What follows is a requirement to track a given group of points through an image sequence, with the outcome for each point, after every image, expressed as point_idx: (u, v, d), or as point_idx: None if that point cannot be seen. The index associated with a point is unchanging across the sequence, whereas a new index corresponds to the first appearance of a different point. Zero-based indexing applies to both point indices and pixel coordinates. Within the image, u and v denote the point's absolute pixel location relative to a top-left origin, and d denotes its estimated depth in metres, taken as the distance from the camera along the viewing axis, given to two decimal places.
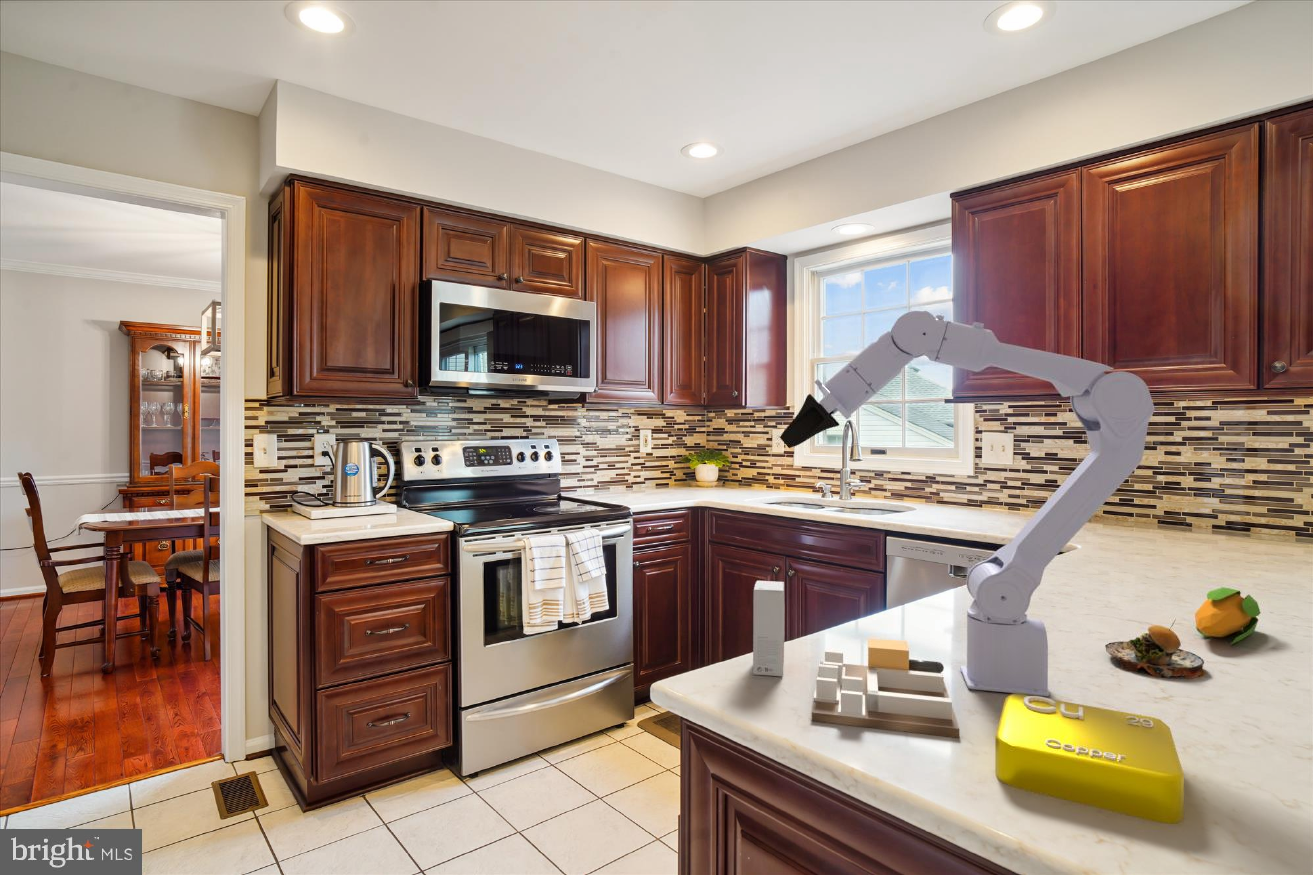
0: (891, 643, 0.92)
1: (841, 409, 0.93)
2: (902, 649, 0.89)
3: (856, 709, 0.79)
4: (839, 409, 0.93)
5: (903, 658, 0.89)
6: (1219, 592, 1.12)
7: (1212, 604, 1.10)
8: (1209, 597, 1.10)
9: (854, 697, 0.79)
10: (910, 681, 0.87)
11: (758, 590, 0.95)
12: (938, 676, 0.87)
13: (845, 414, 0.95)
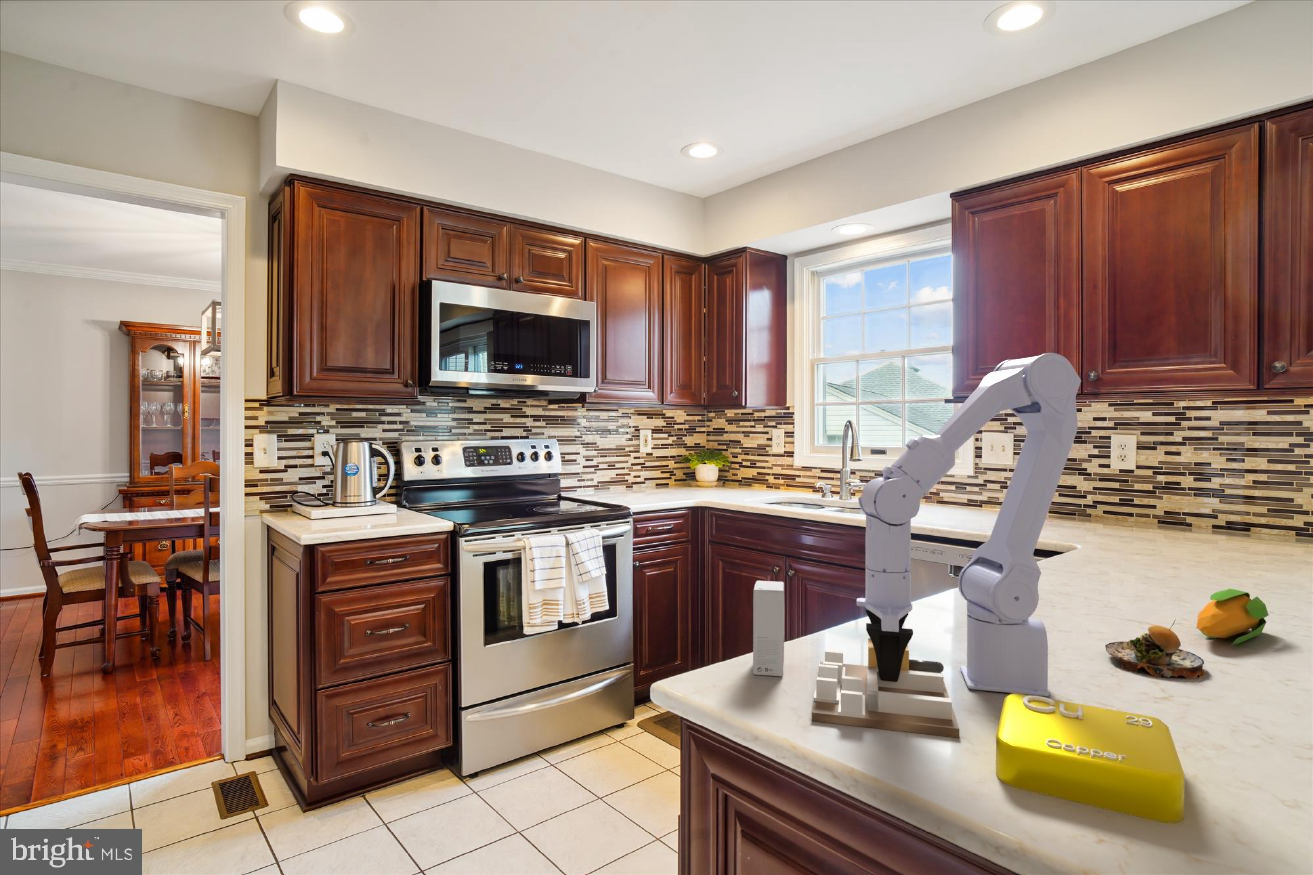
0: None
1: (902, 614, 0.87)
2: None
3: (856, 709, 0.79)
4: (901, 616, 0.86)
5: (903, 658, 0.89)
6: (1224, 593, 1.11)
7: (1215, 605, 1.09)
8: (1212, 598, 1.10)
9: (854, 697, 0.79)
10: (910, 681, 0.87)
11: (758, 590, 0.95)
12: (938, 676, 0.87)
13: (908, 610, 0.88)
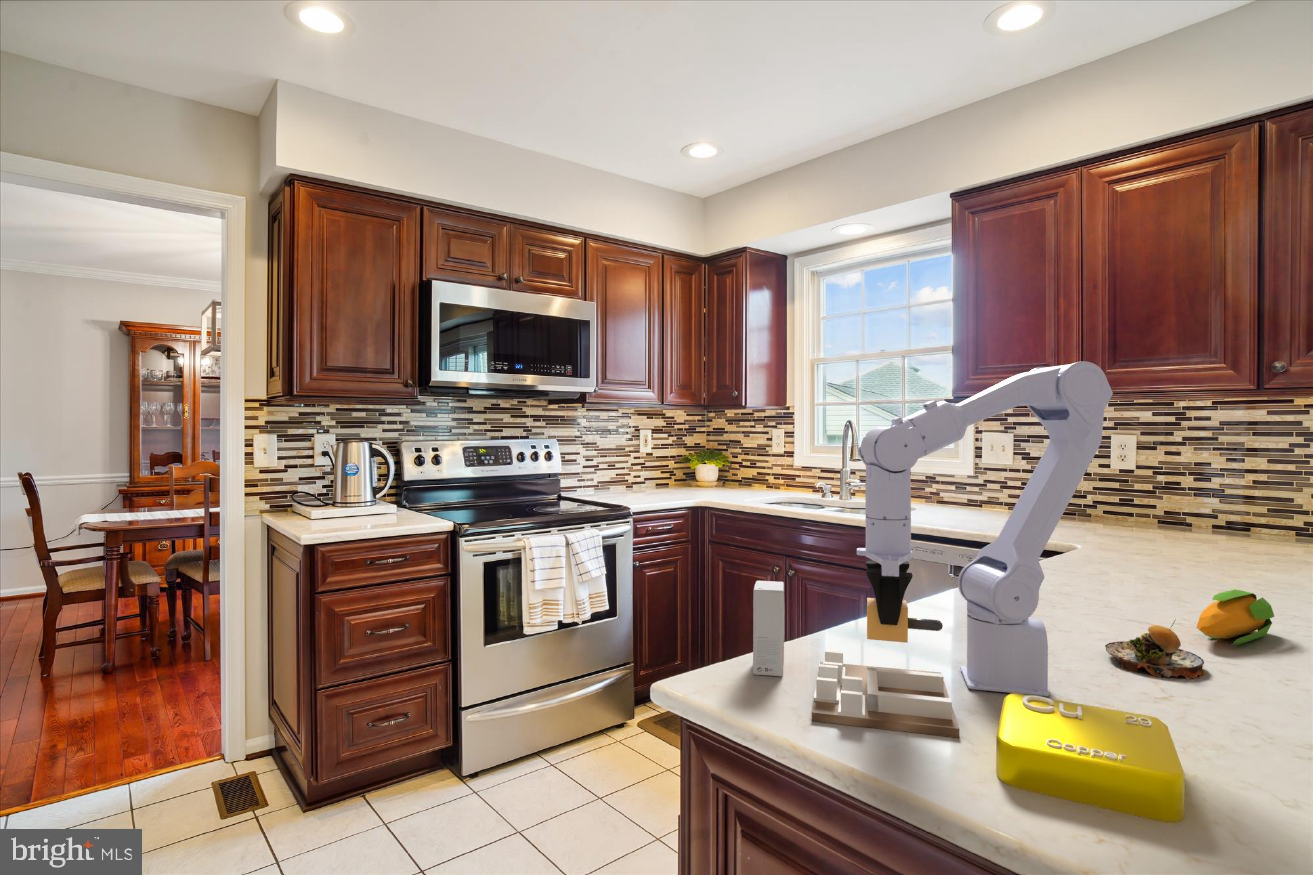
0: None
1: (902, 560, 0.86)
2: (901, 607, 0.89)
3: (856, 709, 0.79)
4: (901, 562, 0.86)
5: (902, 616, 0.89)
6: (1227, 594, 1.11)
7: (1217, 605, 1.09)
8: (1214, 598, 1.09)
9: (854, 697, 0.79)
10: (910, 681, 0.87)
11: (758, 590, 0.95)
12: (938, 676, 0.87)
13: (908, 557, 0.88)
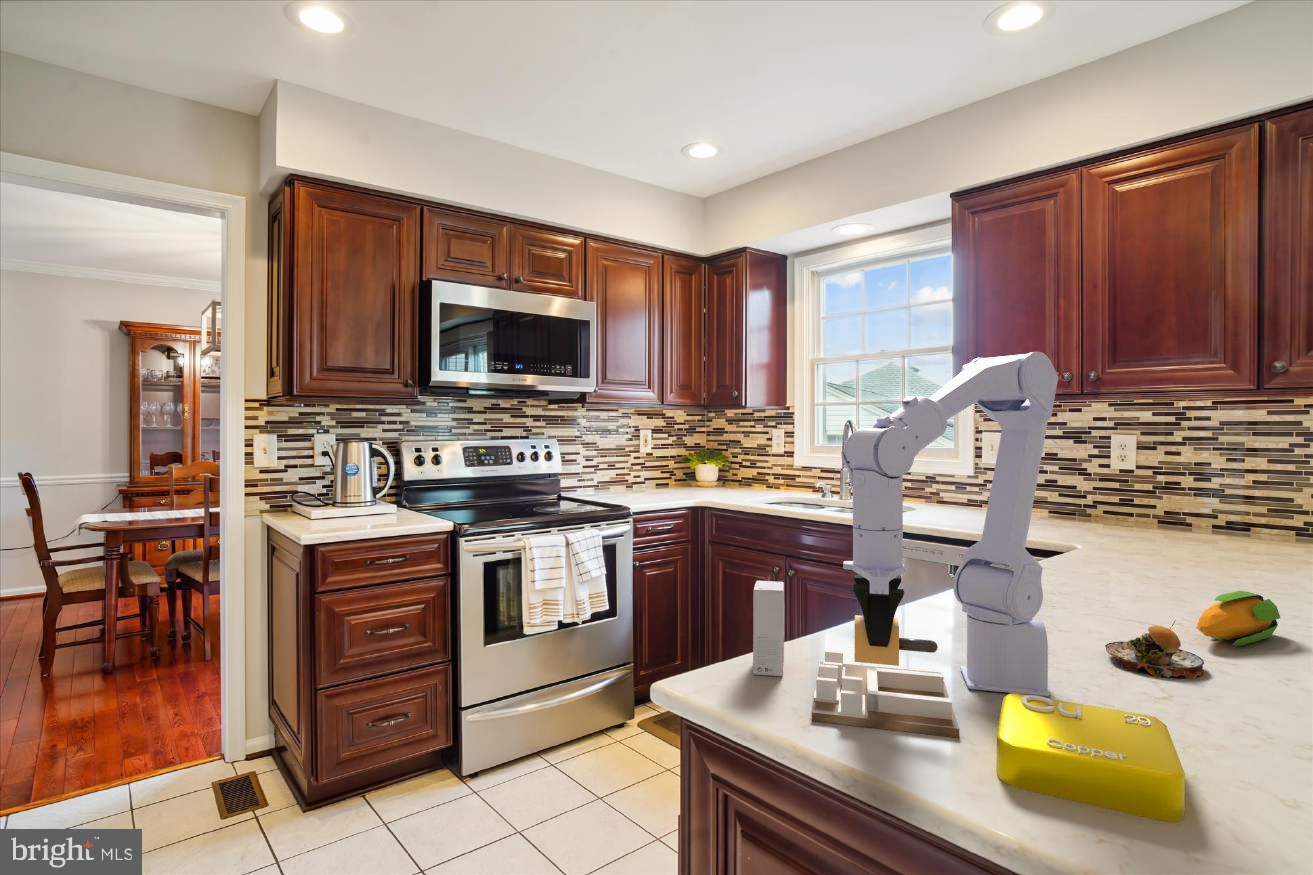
0: None
1: (893, 575, 0.78)
2: None
3: (856, 709, 0.79)
4: (892, 578, 0.78)
5: (893, 636, 0.81)
6: (1230, 594, 1.10)
7: (1219, 606, 1.09)
8: (1216, 599, 1.09)
9: (854, 697, 0.79)
10: (910, 681, 0.87)
11: (758, 590, 0.95)
12: (938, 676, 0.87)
13: (899, 572, 0.80)
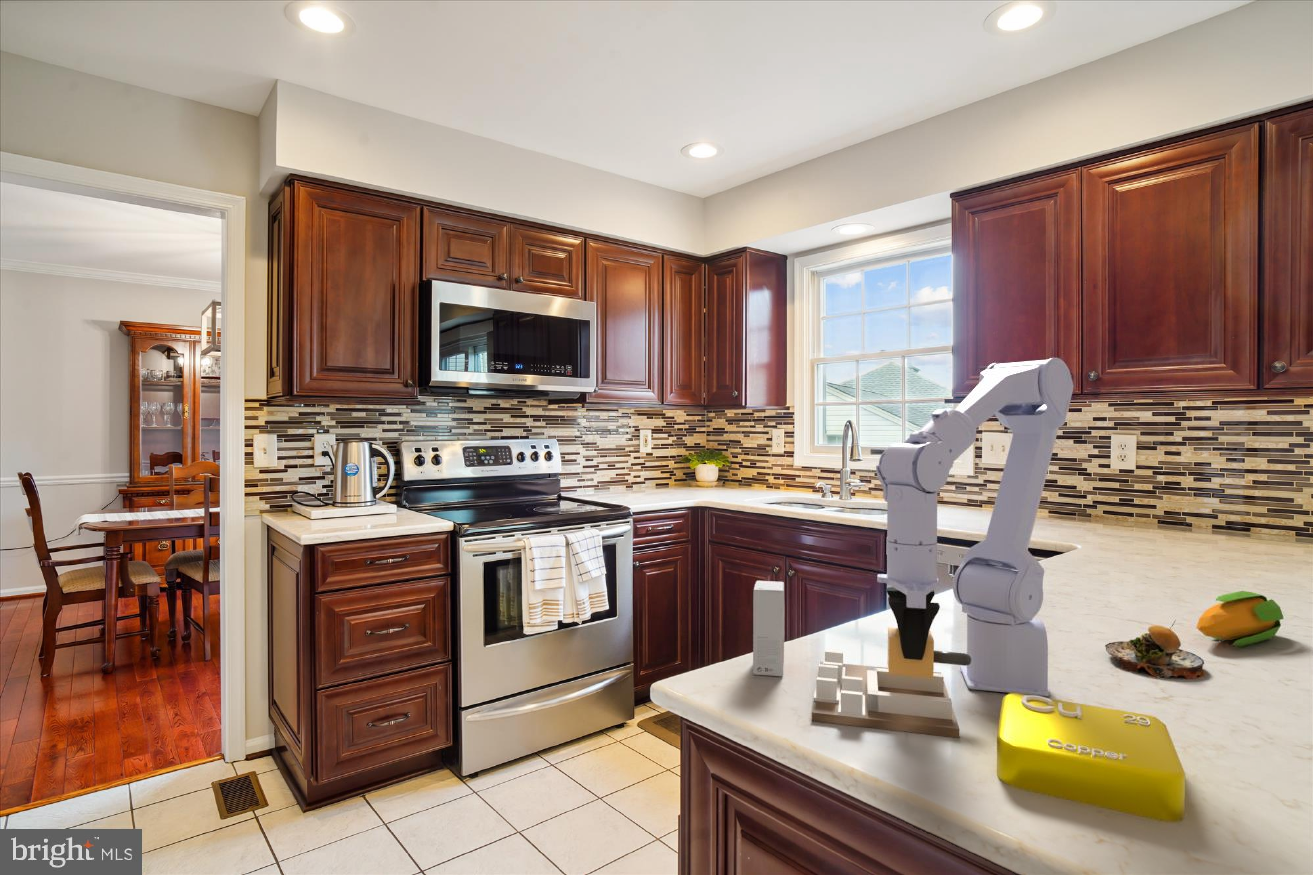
0: None
1: (929, 589, 0.79)
2: None
3: (856, 709, 0.79)
4: (928, 592, 0.79)
5: (927, 649, 0.82)
6: (1232, 595, 1.10)
7: (1220, 606, 1.09)
8: (1217, 599, 1.09)
9: (854, 697, 0.79)
10: (910, 681, 0.87)
11: (758, 590, 0.95)
12: (938, 676, 0.87)
13: (934, 586, 0.81)
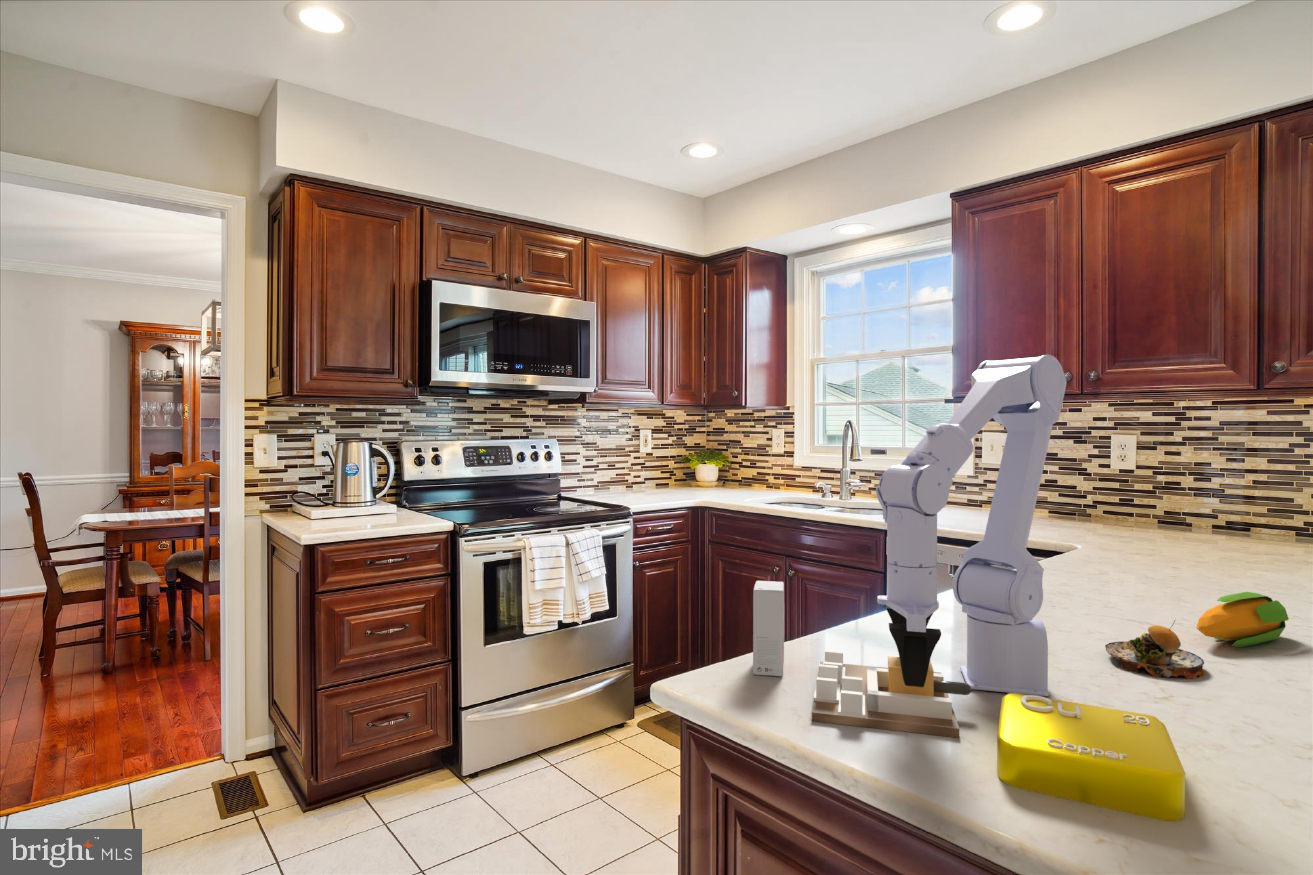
0: None
1: (929, 612, 0.79)
2: None
3: (856, 709, 0.79)
4: (928, 615, 0.79)
5: (927, 679, 0.82)
6: (1235, 595, 1.09)
7: (1221, 607, 1.08)
8: (1219, 599, 1.09)
9: (854, 697, 0.79)
10: None
11: (758, 590, 0.95)
12: (938, 676, 0.87)
13: (934, 609, 0.81)
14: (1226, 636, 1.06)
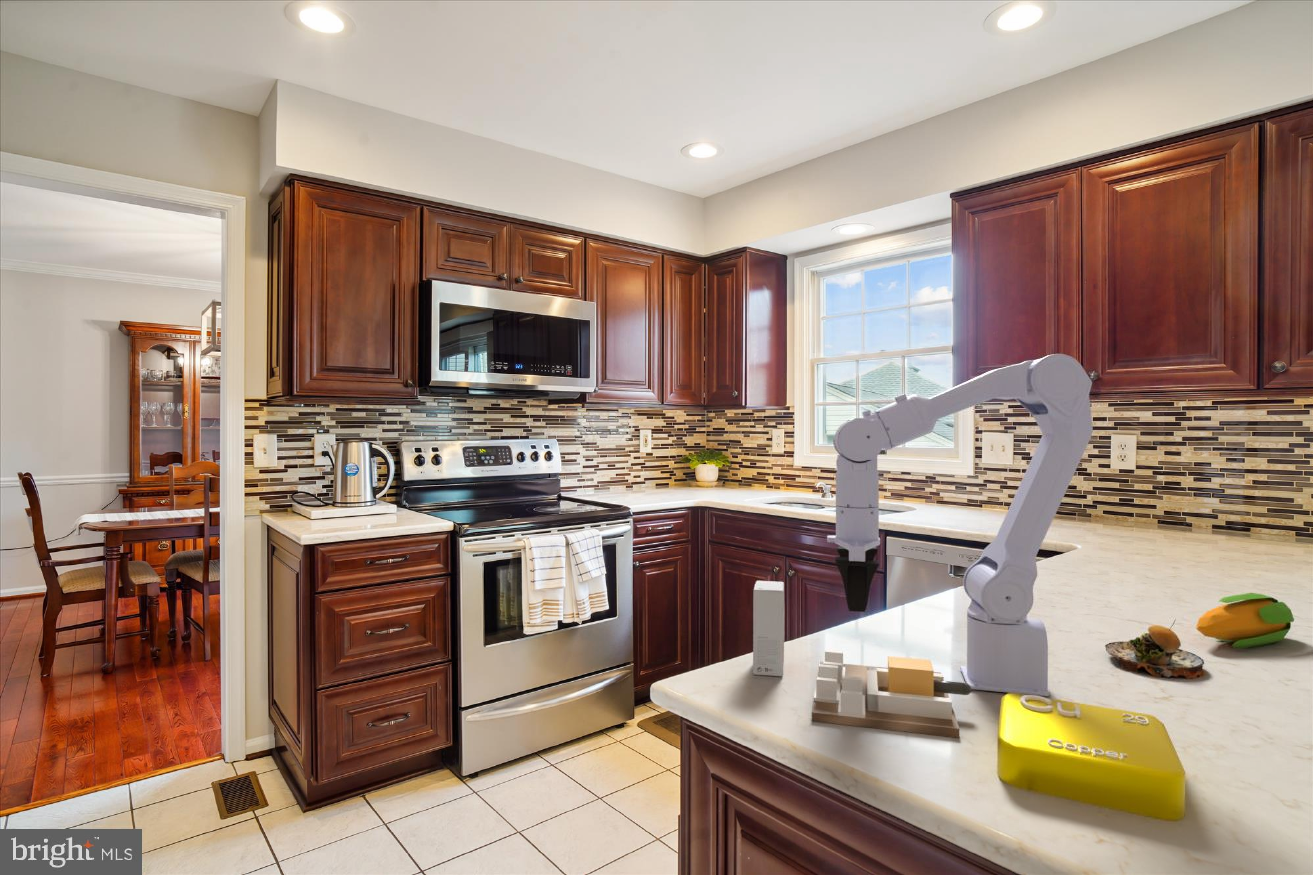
0: (914, 662, 0.84)
1: (869, 546, 0.90)
2: (926, 669, 0.82)
3: (856, 709, 0.79)
4: (868, 548, 0.90)
5: (927, 679, 0.82)
6: (1238, 596, 1.09)
7: (1223, 607, 1.08)
8: (1221, 600, 1.08)
9: (854, 697, 0.79)
10: None
11: (758, 590, 0.95)
12: (938, 676, 0.87)
13: (875, 544, 0.92)
14: (1226, 637, 1.05)
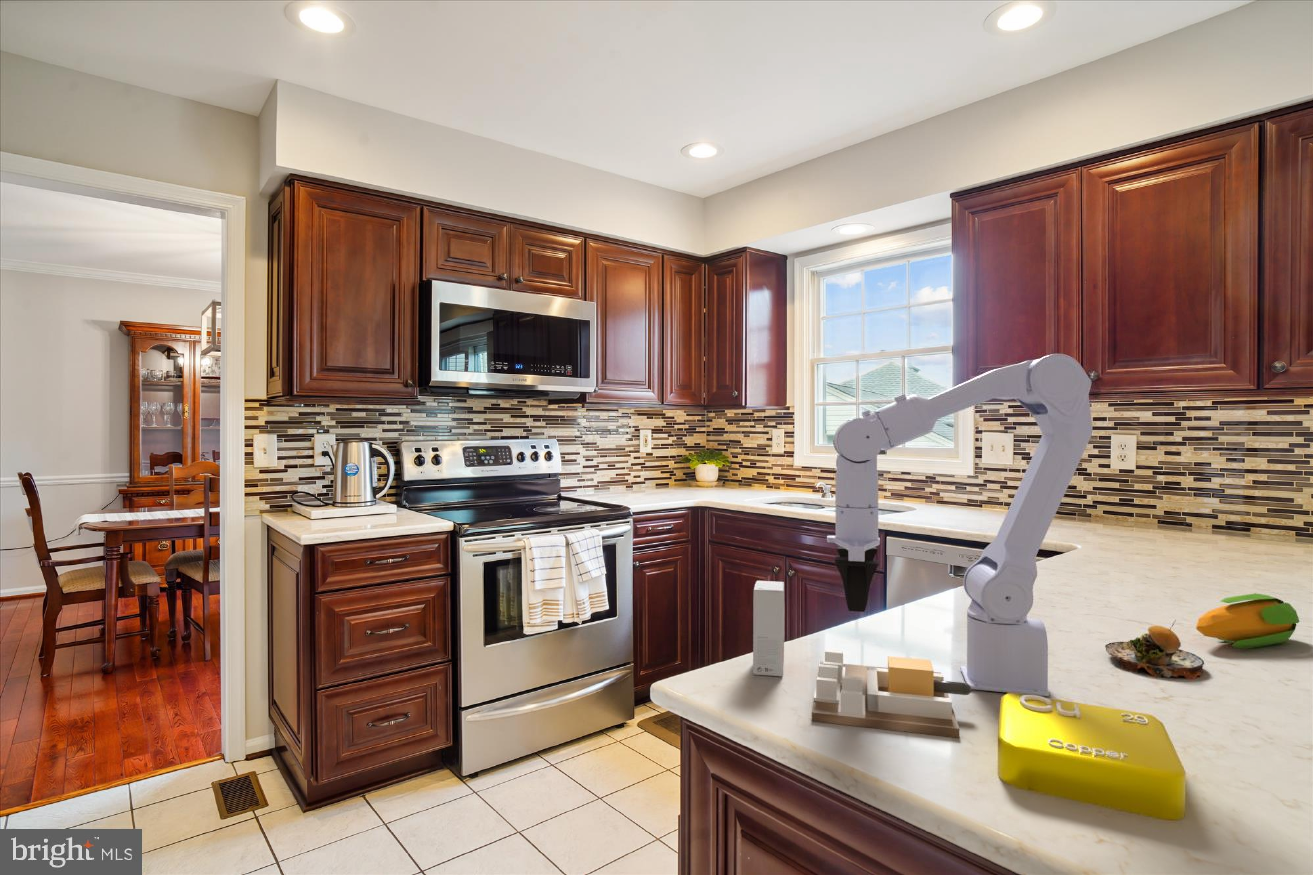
0: (914, 662, 0.84)
1: (869, 546, 0.90)
2: (926, 669, 0.82)
3: (856, 709, 0.79)
4: (867, 548, 0.90)
5: (927, 679, 0.82)
6: (1240, 596, 1.09)
7: (1224, 607, 1.08)
8: (1222, 600, 1.08)
9: (854, 697, 0.79)
10: None
11: (758, 590, 0.95)
12: (938, 676, 0.87)
13: (875, 544, 0.92)
14: (1226, 637, 1.05)
